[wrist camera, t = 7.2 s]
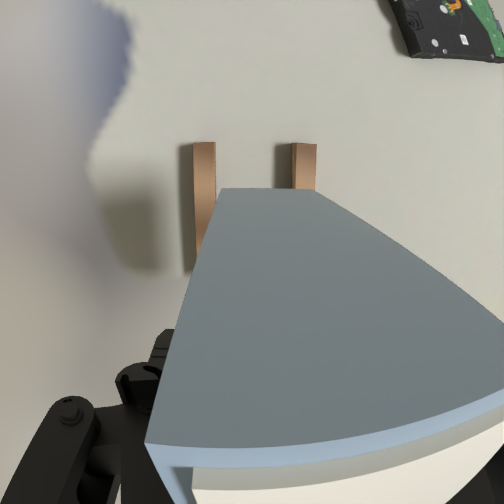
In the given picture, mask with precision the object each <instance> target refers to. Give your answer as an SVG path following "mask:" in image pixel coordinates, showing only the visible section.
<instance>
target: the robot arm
mask: <svg viewBox="0 0 504 504" xmlns="http://www.w3.org/2000/svg"><path fill="white" fill-rule="evenodd" d="M174 330H175V329H165V330H164V331H163V332H162V333H161V334H160V335H159V336H158V337H157V338H156V341H155V344H154V347H153V350H152V353H151V355H150V358H149V361H148V362H141V363H135V364H132V365H130V366H128V367H125V368H124V369H123V370H122V371H121V372H120V373H119V374H118V375H117V377H116V380H115V383H116V386H117V389H118V392H119V394H120V397H121V399H122V402H123V404H120V405H116V406H110V407H101V408H94V407H93V405H92V404H91V403H90V402H89V401H88V400H87V399H84V398H83V397H80V396H68V397H64V398H62V399H60V400H58V401H56V402H55V403H54V404H53V405H52V407H51V408H50V409H49V411H48V413H47V414H46V416H45V418H44V419H43V421H42V423H41V425H40V426H39V428H38V430H37V432H36V433H35V435H34V437H33V439H32V441H31V442H30V444H29V446H28V448H27V450H26V452H25V454H24V455H23V457H22V459H21V461H20V463H19V465H18V467H17V469H16V471H15V473H14V475H13V477H12V479H11V481H10V483H9V485H8V487H7V490H6V492H5V494H4V496H3V498H2V500H1V503H0V504H115V500H116V497H117V493H118V490H119V486H120V483H121V504H175V503H174V501H173V499H172V498H171V496H170V494H169V492H168V490H167V489H166V487H165V485H164V483H163V481H162V479H161V477H160V475H159V473H158V471H157V469H156V467H155V465H154V463H153V461H152V459H151V457H150V455H149V453H148V450H147V448H146V446H145V444H144V441H145V437H146V433H147V429H148V425H149V421H150V417H151V413H152V409H153V405H154V401H155V398H156V394H157V390H158V386H159V383H160V379H161V375H162V372H163V368H164V365H165V361H166V358H167V354H168V351H169V347H170V344H171V340H172V337H173V333H174ZM445 504H504V444H503V445H502V446H501V447H500V449H499V450H498V451H497V452H496V453H495V454H494V456H493V457H492V458H491V459H490V460H489V461H488V462H487V463H486V465H485V466H484V467H483V468H482V469H481V470H480V471H479V472H478V473H477V474H476V475H475V476H474V477H473V478H472V479H471V480H470V481H469V482H468V483H467V484H466V485H465V486H464V487H463V488H462V489H461V490H460V491H459V492H458V493H457V494H455V495H454V496H453V497H452V498H451V499H450V500H449V501H448V502H446V503H445Z"/></svg>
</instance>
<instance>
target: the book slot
mask: <svg viewBox="0 0 504 504" xmlns="http://www.w3.org/2000/svg"><path fill="white" fill-rule="evenodd" d="M316 148H317V144H304V143H292V179H291V189H313V190H314V191H315V176H316ZM193 167H194V206H195V231H196V251H197V257H198V254H199V251H200V248H201V245H202V242H203V239H204V236H205V233H206V231H207V228H208V225H209V222H210V219H211V216H212V213H213V211H214V208H215V205H216V142H199V143H193Z"/></svg>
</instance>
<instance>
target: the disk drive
mask: <svg viewBox="0 0 504 504" xmlns="http://www.w3.org/2000/svg"><path fill="white" fill-rule="evenodd" d="M388 1H389V3H390V5H391V7H392V10H393V12H394V15H395V17H396V19H397V22H398V24H399V27H400V30H401V32H402V35H403V38H404V40H405V42H406V45H407V48H408V52H409V55H410V57H411V58H422V59H433V58H444V59H464V60H476V61H485V62H488V63H499V64H500V63H504V34H503V32H502V28H501V26H500V23H499V21H498V20H496V17H495V15H494V11H492V8H491V6H490V3H489V1H488V0H388Z"/></svg>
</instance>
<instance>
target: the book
mask: <svg viewBox="0 0 504 504" xmlns="http://www.w3.org/2000/svg"><path fill="white" fill-rule="evenodd" d="M144 444H145V446H146V448H147V450H148V453H149V455H150V457H151V459H152V461H153V463H154V465H155V467H156V469H157V471H158V473H159V475H160V477H161V479H162V481H163V483H164V485H165V487H166V489H167V490H168V492H169V494H170V496H171V498H172V499H173V501H174V503H175V504H445V503H446V502H448V501H449V500H450V499H451V498H452V497H453V496H454V495H455V494H457V493H458V492H459V491H460V490H461V489H462V488H463V487H464V486H465V485H466V484H467V483H468V482H469V481H470V480H471V479H472V478H473V477H474V476H475V475H476V474H477V473H478V472H479V471H480V470H481V469H482V468H483V467H484V466H485V465H486V463H487V462H488V461H489V460H490V459H491V458H492V457H493V456H494V454H495V453H496V452H497V451H498V450H499V449H500V447H501V446H502V445H503V444H504V323H503V322H502V321H500V320H499V319H498V318H497V317H496V316H495V315H493V314H492V313H491V312H490V311H489V310H487V309H486V308H485V307H484V306H482V305H481V304H480V303H479V302H477V301H476V300H475V299H474V298H472V297H471V296H470V295H469V294H467V293H466V292H465V291H464V290H462V289H461V288H460V287H458V286H457V285H456V284H454V283H453V282H452V281H450V280H449V279H448V278H446V277H445V276H444V275H442V274H441V273H440V272H438V271H437V270H436V269H434V268H433V267H431V266H430V265H429V264H427V263H426V262H425V261H423V260H422V259H420V258H419V257H417V256H416V255H415V254H413V253H412V252H410V251H409V250H407V249H406V248H404V247H403V246H402V245H400V244H399V243H397V242H396V241H394V240H393V239H391V238H390V237H388V236H387V235H385V234H384V233H382V232H381V231H379V230H378V229H376V228H374V227H373V226H371V225H370V224H368V223H367V222H365V221H364V220H362V219H360V218H359V217H357V216H356V215H354V214H352V213H351V212H349V211H348V210H346V209H344V208H343V207H341V206H339V205H338V204H336V203H334V202H333V201H331V200H329V199H328V198H326V197H324V196H323V195H321V194H319V193H318V192H316V191H314V190H313V189H271V188H225V189H221V191H220V194H219V197H218V199H217V202H216V205H215V208H214V211H213V213H212V216H211V219H210V222H209V225H208V228H207V231H206V233H205V236H204V239H203V242H202V245H201V248H200V251H199V254H198V257H197V260H196V263H195V266H194V269H193V272H192V275H191V278H190V282H189V285H188V288H187V291H186V294H185V297H184V301H183V304H182V307H181V310H180V314H179V317H178V320H177V324H176V327H175V330H174V333H173V337H172V340H171V344H170V347H169V351H168V354H167V358H166V361H165V365H164V368H163V372H162V375H161V379H160V383H159V386H158V390H157V394H156V398H155V401H154V405H153V409H152V413H151V417H150V421H149V425H148V429H147V433H146V437H145V441H144Z"/></svg>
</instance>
